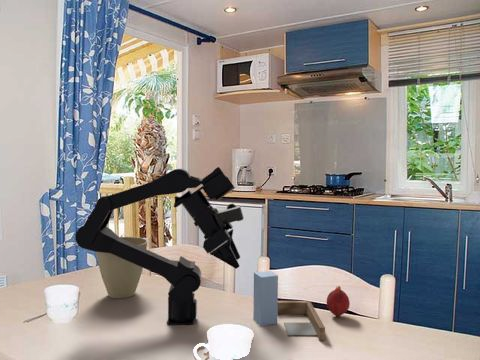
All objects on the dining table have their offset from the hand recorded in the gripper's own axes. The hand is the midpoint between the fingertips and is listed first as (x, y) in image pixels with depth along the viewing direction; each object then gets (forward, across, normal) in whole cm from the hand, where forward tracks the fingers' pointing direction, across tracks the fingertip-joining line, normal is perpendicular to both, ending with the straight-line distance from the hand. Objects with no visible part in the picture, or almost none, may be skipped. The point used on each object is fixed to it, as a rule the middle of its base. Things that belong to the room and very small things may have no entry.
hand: (238, 262), depth 100 cm
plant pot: (-9, +18, +37) cm, 42 cm away
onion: (+27, +4, -12) cm, 30 cm away
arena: (+20, -3, -3) cm, 20 cm away
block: (+16, 0, +3) cm, 16 cm away
